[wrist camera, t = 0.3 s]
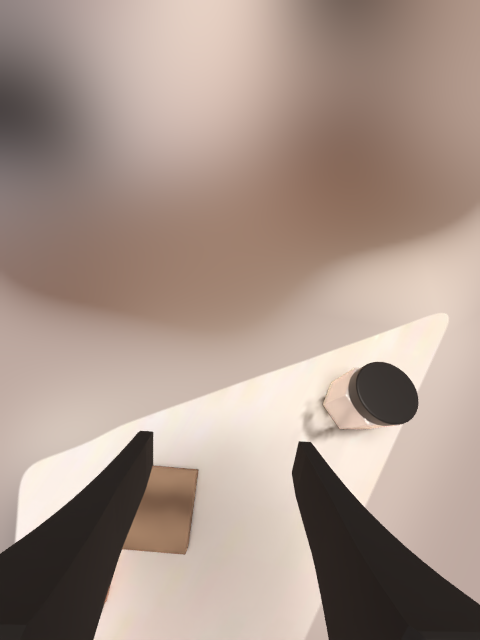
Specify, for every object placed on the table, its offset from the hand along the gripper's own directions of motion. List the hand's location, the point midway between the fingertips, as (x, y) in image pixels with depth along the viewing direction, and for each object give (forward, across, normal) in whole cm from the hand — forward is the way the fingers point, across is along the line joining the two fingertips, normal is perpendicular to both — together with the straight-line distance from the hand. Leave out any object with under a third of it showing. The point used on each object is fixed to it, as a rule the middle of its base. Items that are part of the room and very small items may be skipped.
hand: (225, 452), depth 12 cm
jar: (+26, -22, +15) cm, 37 cm away
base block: (+16, +7, +27) cm, 32 cm away
